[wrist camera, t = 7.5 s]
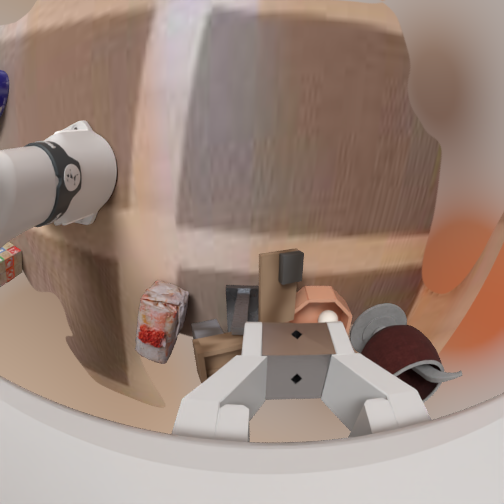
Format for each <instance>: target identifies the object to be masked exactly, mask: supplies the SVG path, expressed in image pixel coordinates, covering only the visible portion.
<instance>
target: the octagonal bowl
mask: <svg viewBox="0 0 504 504" xmlns="http://www.w3.org/2000/svg"><path fill="white" fill-rule="evenodd" d="M325 310H331V311H333V312H335V313H336V314H337V316H338V321H341V322H342V323H343V325H344V327H345V330H346V332H347V335H348V334H349V330H350V325H351V320H352V314H351V312H350V310H349V307H348V305H347V303H346V301H345V300H344V299H343V298H342V297H341V296H340V295H339V294H338V293H337V292H336V291H335V290H334V289H333V287H332V286H305V287H303V288H301V289H300V290H299V291H298V292H296V301H295V313H294V320H292V321H288V322H285V323H318V317H319V315H320V314H321V313H322V312H323V311H325Z"/></svg>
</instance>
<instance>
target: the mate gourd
mask: <svg viewBox="0 0 504 504" xmlns="http://www.w3.org/2000/svg"><path fill="white" fill-rule="evenodd" d="M350 341H351V344H352V346H353V348H354V349H355V350H356V351H358V352H359V353H361V354H362V355H363V356H365V357H366V358H368V359H369V360H371V361H372V362H374V363H375V364H377V365H378V366H380V367H382V368H383V369H385V370H386V371H388V372H389V373H391V374H392V375H394V376H396V377H397V378H399V379H400V380H402V381H403V382H405V383H407V384H408V385H410V386H411V387H413V388H414V389H416V390H417V391H418V393H419V395H420V397H421V399H422V401H423V403H424V402H425V401H426V400H428V399H429V398H430V397H431V396H432V395H433V394H434V392H435V391H436V390H437V389H438V387H439V386H440V385H441V383H442V382H445V381H448V380H452V379H455V378H457V377H460V376H462V372H461V371H459V372H457V373H446V372H444V368H443V366H442V364H441V360H440V358H439V356H438V353H437V351H436V349H435V348H434V346H433V345H432V343H431V342H430V340H429V339H428V338H427V337H426V336H425V335H424V334H423V333H422V332H420V331H419V330H417V329H416V328H414V327H412V326H409V325H407V319H406V315H405V313H404V312H403V310H402V309H401V308H400V307H398V306H397V305H394V304H389V303H385V304H379V305H376V306H373V307H371V308H369V309H368V310H366V311H365V312H363V313H362V314H361V315H360V316H359V317H358V318H357V319H356V321H355V322H354V324H353V326H352V328H351V331H350Z"/></svg>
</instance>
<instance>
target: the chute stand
mask: <svg viewBox="0 0 504 504" xmlns="http://www.w3.org/2000/svg"><path fill="white" fill-rule="evenodd" d="M226 302H227V321H228V332H232V335H244V327H245V323H246V322H258V307H259V286H239V285H226Z"/></svg>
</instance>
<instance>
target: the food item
mask: <svg viewBox="0 0 504 504" xmlns="http://www.w3.org/2000/svg"><path fill="white" fill-rule="evenodd" d="M188 296H189V292H188V291H185V290H182V289H181V288H179V287H177V286H176V285H174V284H171V283H166V282H163V281H159V280H157V281H156V282H155V283H154V284H153V285H152V286H151V287H150V288H149V289H146V292H145V293H144V294H143V296H142V298H141V300H140V306H139V313H138V322H137V337H136V348H135V350H136V351H137V352H138V353H139V354H140V355H141V356H143V357H145V358H147V359H149V360H152V361H154V362H157V363H161V364H165V363H166V362H167V360H168V358H169V357H170V355H171V353H172V350H173V348H174V345H175V343H176V340H177V335H178V334H179V332H180V330H181V329H182V327H183V323H184V321H185V316H186V310H187V307H188Z"/></svg>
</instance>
